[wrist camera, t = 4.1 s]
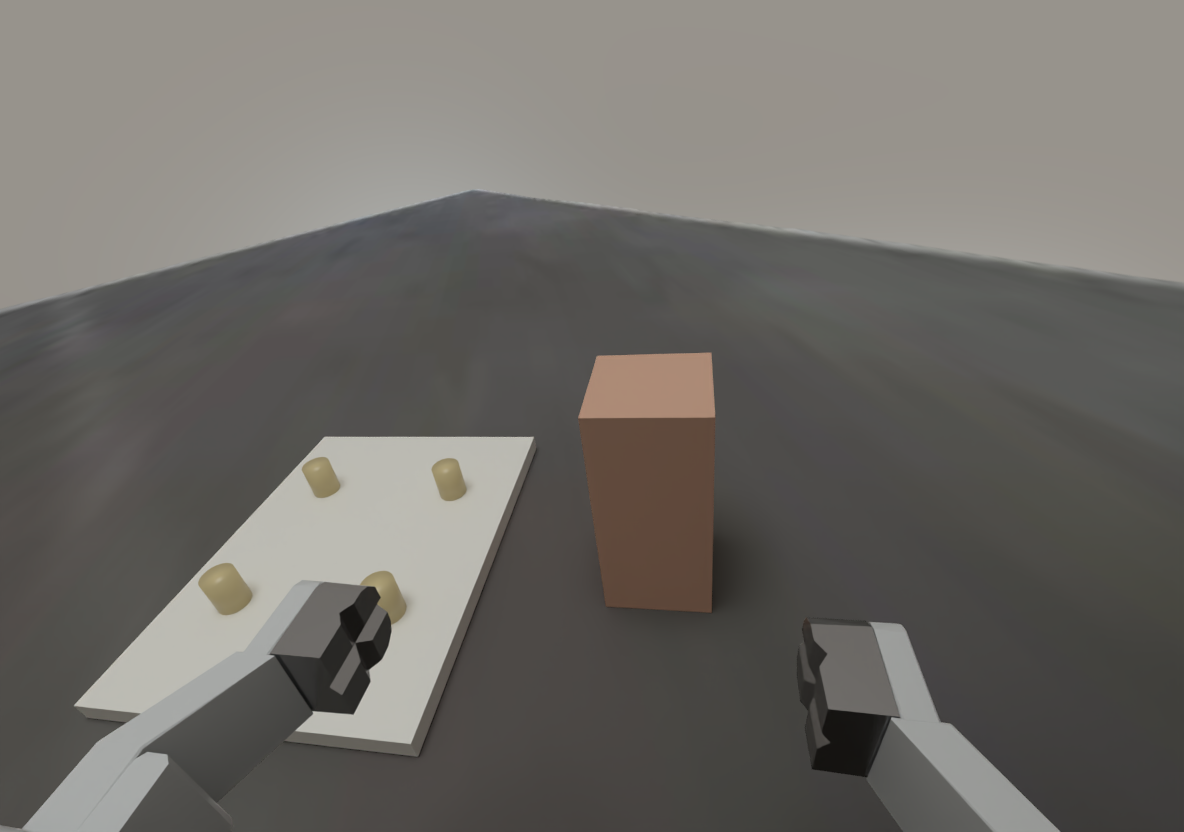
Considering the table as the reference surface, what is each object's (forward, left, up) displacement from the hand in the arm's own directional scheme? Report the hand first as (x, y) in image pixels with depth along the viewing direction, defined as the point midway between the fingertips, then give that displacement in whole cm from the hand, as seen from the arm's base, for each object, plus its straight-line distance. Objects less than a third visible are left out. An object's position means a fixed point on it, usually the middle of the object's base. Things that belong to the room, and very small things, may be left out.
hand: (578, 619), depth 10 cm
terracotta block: (0, -13, -13) cm, 18 cm away
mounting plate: (+17, -13, -13) cm, 25 cm away
